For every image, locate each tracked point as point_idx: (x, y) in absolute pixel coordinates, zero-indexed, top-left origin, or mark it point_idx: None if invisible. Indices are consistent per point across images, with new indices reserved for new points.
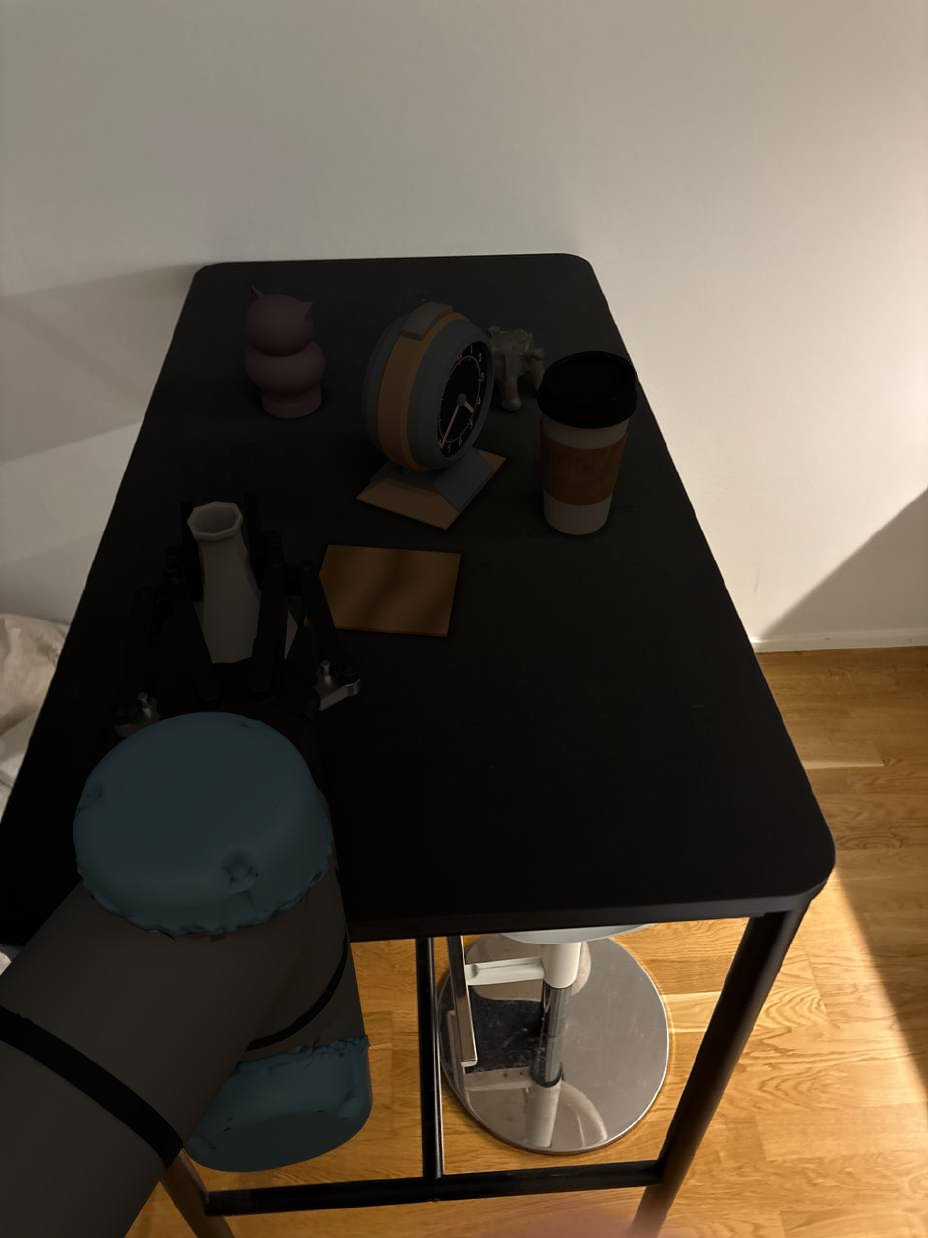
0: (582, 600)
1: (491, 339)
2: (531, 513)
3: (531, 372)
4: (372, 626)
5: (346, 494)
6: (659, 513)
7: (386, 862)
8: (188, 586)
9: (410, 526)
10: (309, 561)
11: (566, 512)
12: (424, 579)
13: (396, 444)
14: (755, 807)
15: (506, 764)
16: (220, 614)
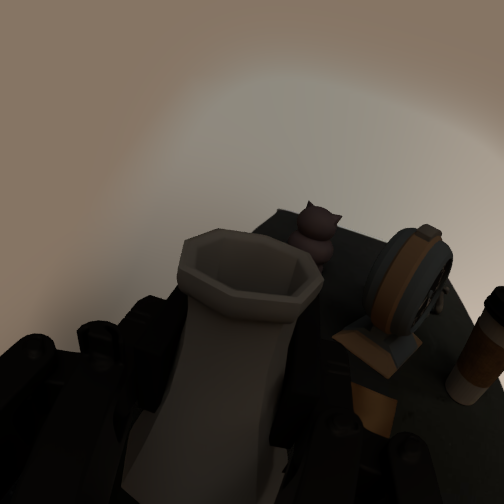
0: (466, 455)
1: None
2: (437, 383)
3: (437, 299)
4: None
5: (325, 331)
6: (498, 400)
7: None
8: (131, 383)
9: (364, 368)
10: (418, 439)
11: (467, 389)
12: (371, 414)
13: (387, 308)
14: None
15: None
16: (174, 456)
